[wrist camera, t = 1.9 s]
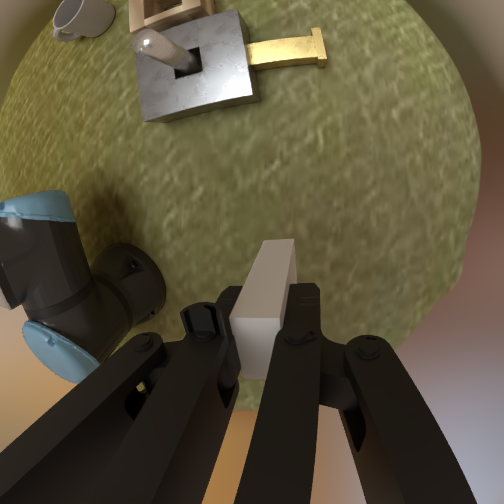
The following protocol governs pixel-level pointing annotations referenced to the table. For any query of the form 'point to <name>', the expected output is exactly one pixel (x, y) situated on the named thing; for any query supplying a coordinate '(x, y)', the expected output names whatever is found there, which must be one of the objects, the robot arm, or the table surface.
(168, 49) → the round-ended peg
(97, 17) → the cup
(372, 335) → the robot arm
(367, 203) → the table surface
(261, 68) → the brass square peg
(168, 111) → the socket block
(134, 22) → the rack
